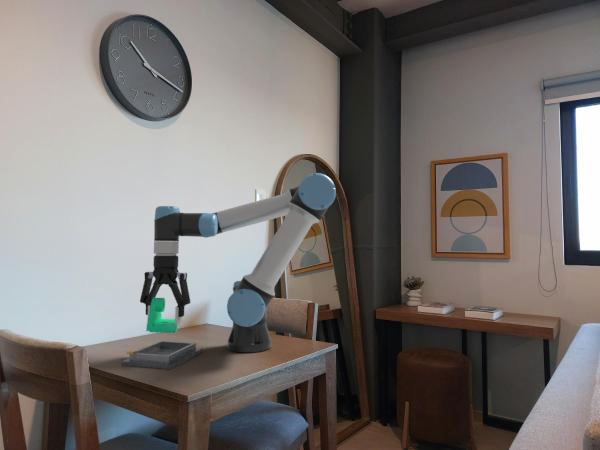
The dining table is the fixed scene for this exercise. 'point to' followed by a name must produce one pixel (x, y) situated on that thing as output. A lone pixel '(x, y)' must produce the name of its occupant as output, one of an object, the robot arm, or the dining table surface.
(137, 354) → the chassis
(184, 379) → the dining table surface
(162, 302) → the camera mount
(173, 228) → the robot arm
